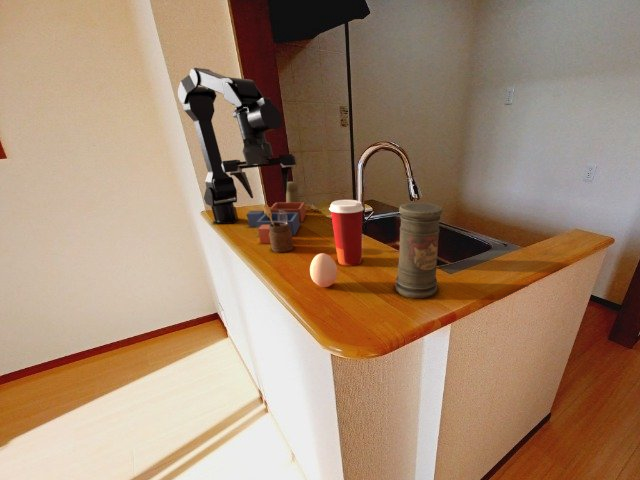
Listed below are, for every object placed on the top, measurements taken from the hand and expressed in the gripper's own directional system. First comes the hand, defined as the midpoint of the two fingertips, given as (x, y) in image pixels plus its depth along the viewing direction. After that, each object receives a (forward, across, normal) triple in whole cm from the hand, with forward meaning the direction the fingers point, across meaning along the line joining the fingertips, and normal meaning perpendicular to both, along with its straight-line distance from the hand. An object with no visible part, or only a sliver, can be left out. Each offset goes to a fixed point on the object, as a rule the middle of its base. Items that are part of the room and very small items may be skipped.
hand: (269, 196), depth 91 cm
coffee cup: (+17, +18, -20) cm, 32 cm away
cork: (+9, +3, +35) cm, 37 cm away
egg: (+18, +12, -33) cm, 39 cm away
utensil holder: (+14, +1, -8) cm, 16 cm away
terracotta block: (+13, -3, 0) cm, 13 cm away
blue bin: (+12, -1, +10) cm, 15 cm away
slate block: (+10, -9, +18) cm, 22 cm away
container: (+21, +31, -38) cm, 53 cm away
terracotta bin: (+10, +1, +24) cm, 27 cm away
